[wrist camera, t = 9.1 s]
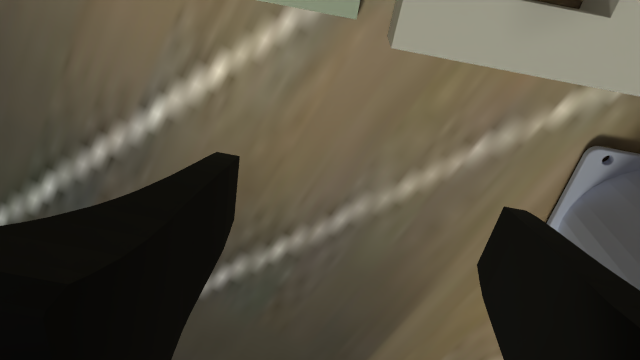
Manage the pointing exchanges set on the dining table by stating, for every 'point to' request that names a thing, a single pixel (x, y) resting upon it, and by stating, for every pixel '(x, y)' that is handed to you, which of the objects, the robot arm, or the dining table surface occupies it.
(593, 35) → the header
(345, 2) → the mat
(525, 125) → the dining table surface
